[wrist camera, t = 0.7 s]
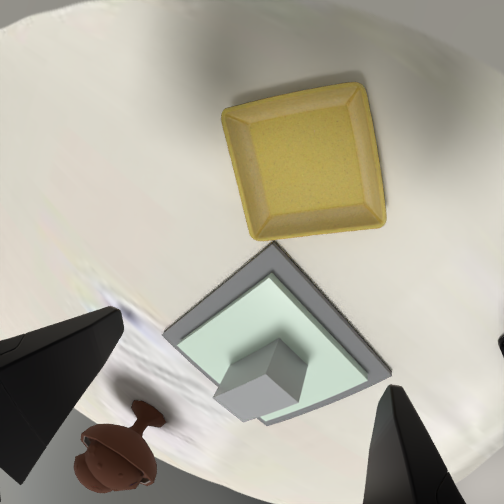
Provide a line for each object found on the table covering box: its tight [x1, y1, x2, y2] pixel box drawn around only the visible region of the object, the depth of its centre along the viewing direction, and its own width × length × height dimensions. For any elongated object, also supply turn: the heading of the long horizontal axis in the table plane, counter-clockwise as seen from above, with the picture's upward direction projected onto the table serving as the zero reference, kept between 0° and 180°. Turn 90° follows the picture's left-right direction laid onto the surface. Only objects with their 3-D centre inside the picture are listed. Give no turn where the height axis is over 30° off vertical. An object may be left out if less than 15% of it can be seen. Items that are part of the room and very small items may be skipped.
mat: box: [162, 242, 392, 426], centre depth 26 cm, size 15×15×1 cm
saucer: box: [221, 82, 387, 241], centre depth 18 cm, size 9×9×2 cm
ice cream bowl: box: [74, 400, 166, 493], centre depth 31 cm, size 11×11×15 cm
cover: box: [177, 273, 368, 422], centre depth 24 cm, size 12×12×5 cm
